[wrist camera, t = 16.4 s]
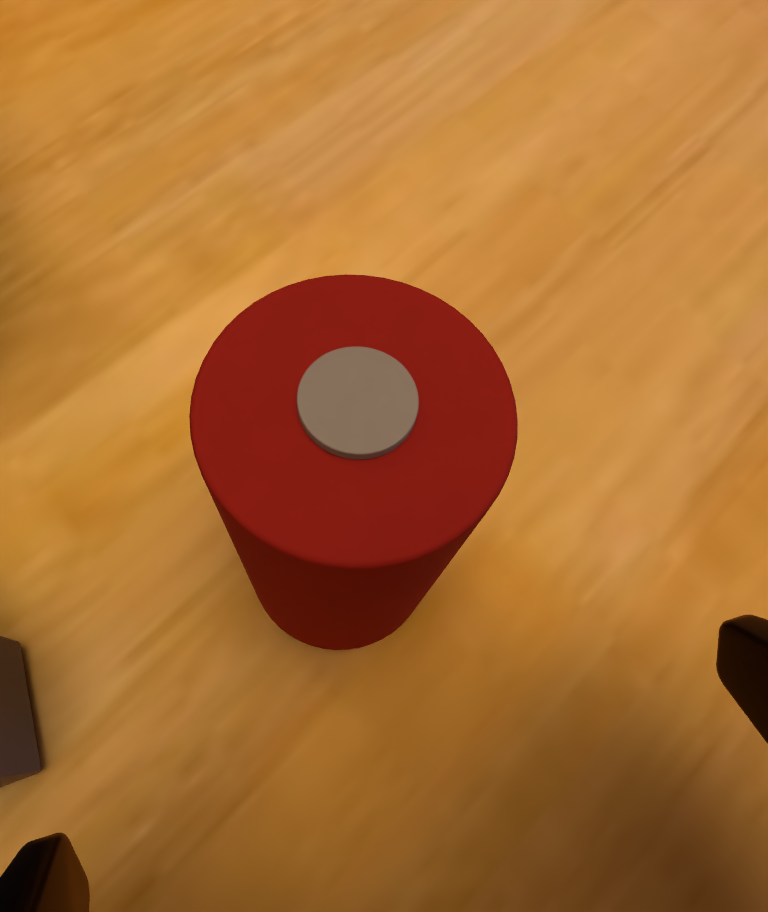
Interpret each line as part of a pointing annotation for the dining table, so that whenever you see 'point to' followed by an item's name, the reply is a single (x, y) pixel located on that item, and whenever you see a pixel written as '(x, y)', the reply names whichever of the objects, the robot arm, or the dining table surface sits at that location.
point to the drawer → (15, 718)
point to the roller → (350, 449)
